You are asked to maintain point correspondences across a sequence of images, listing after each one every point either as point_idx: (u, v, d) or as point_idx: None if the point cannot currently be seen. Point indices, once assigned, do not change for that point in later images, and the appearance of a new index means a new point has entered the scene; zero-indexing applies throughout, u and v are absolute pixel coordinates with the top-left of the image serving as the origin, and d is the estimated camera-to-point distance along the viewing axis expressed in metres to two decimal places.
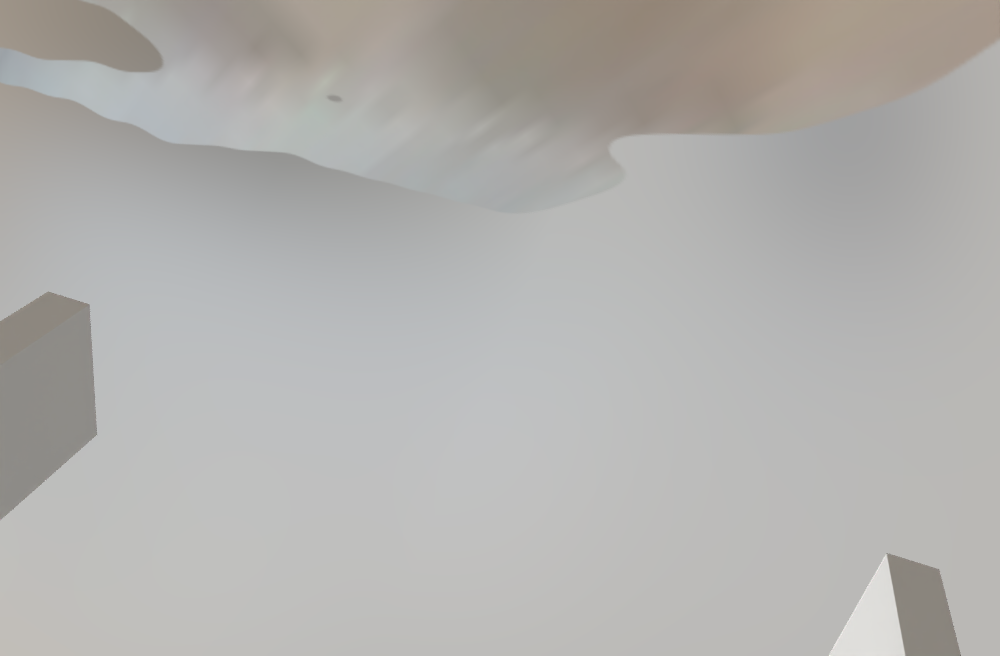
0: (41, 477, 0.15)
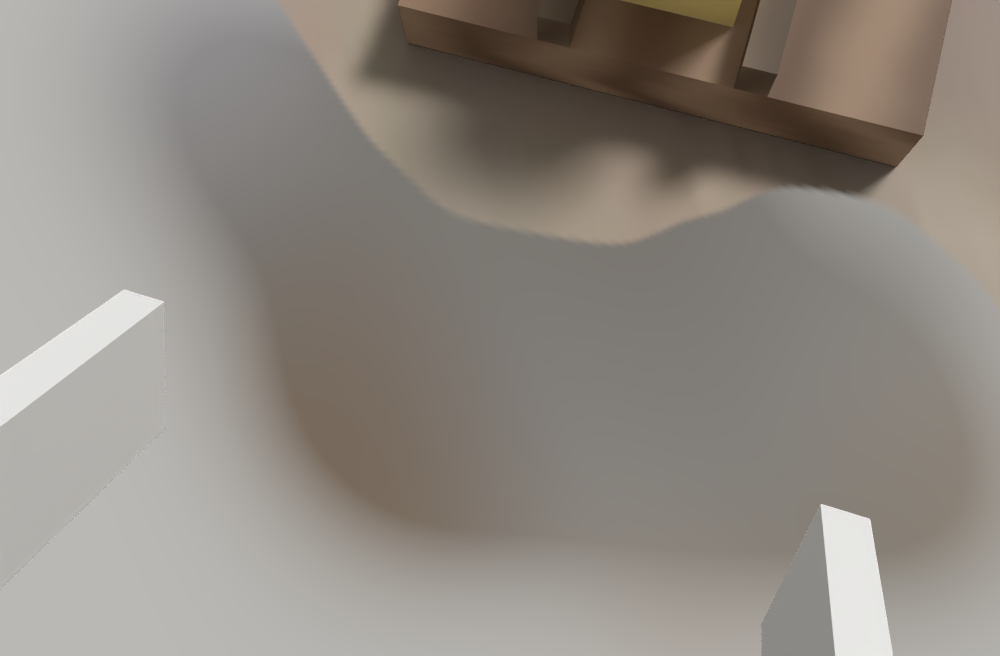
0: (117, 469, 0.15)
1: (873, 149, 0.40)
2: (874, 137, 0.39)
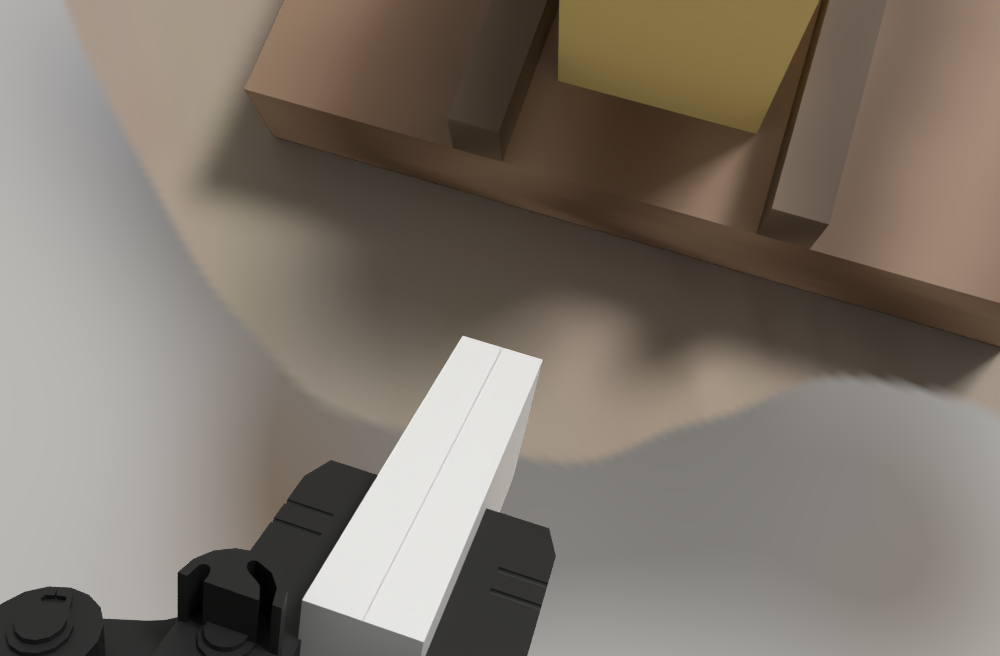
0: None
1: (972, 326, 0.26)
2: (977, 313, 0.25)
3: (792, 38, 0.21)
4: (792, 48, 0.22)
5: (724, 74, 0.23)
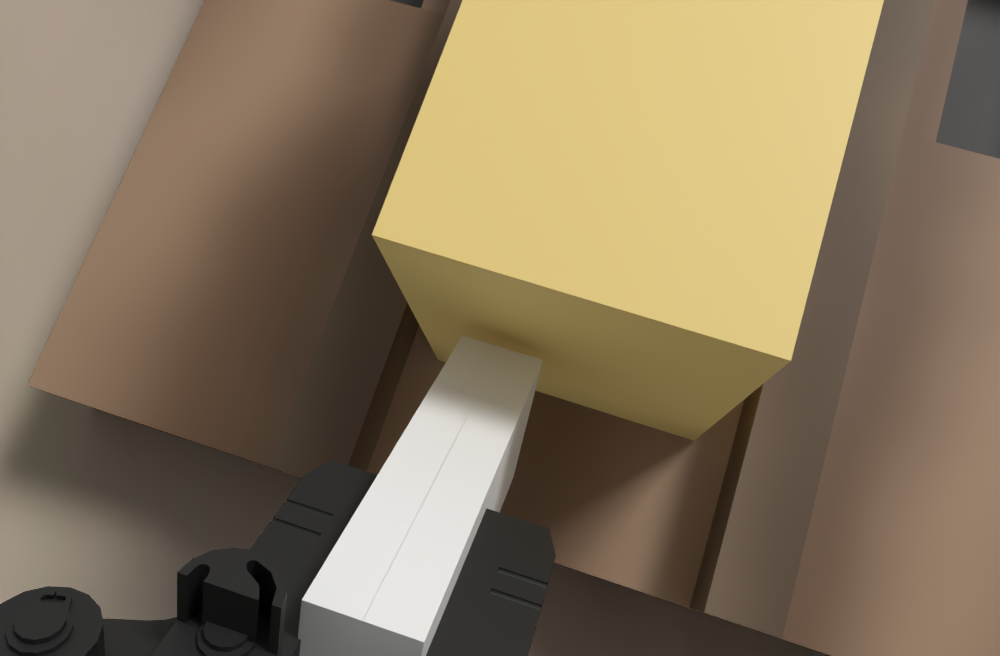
0: None
1: None
2: None
3: (727, 401, 0.15)
4: (728, 406, 0.15)
5: (642, 401, 0.17)
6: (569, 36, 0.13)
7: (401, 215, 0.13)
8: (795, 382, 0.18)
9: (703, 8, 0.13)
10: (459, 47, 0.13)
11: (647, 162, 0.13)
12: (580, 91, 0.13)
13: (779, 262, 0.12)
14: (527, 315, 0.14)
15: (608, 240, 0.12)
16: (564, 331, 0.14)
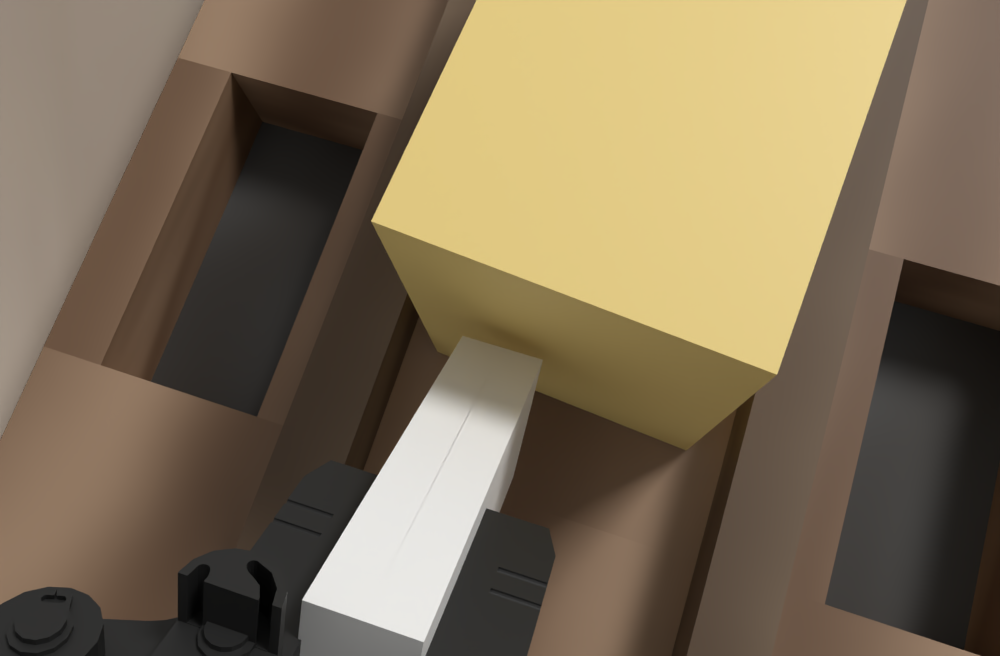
0: None
1: None
2: None
3: (717, 412, 0.15)
4: (718, 417, 0.15)
5: (635, 406, 0.17)
6: (582, 37, 0.13)
7: (401, 204, 0.13)
8: None
9: (717, 18, 0.13)
10: (472, 41, 0.13)
11: (650, 168, 0.13)
12: (588, 93, 0.13)
13: (773, 276, 0.12)
14: (522, 312, 0.14)
15: (605, 242, 0.12)
16: (558, 330, 0.14)
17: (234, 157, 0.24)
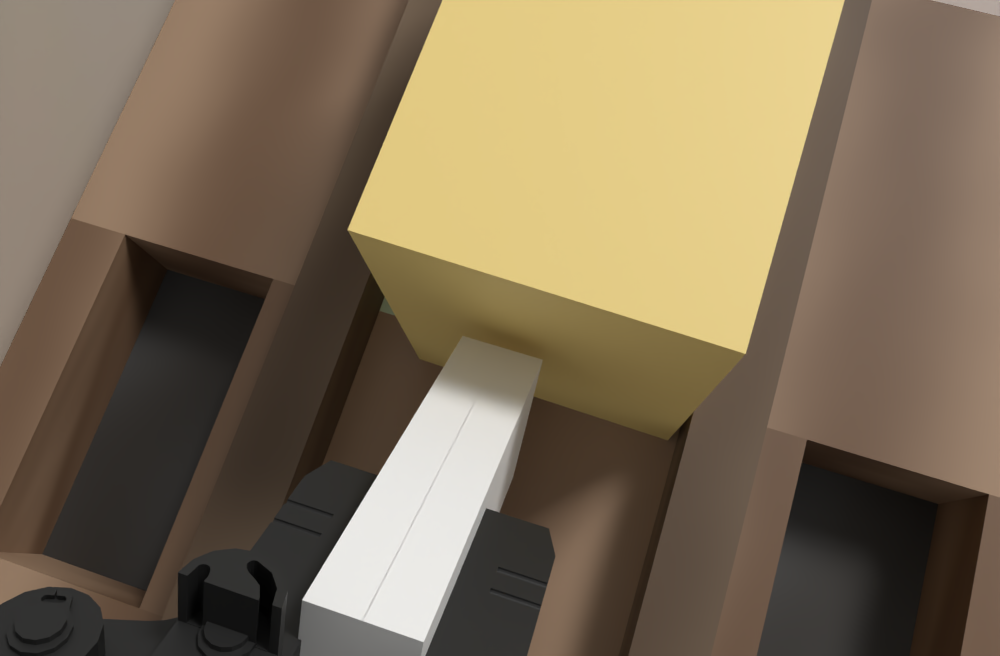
0: None
1: None
2: None
3: (693, 396, 0.16)
4: (695, 402, 0.16)
5: (615, 399, 0.18)
6: (541, 42, 0.14)
7: (376, 211, 0.13)
8: None
9: (669, 18, 0.14)
10: (435, 52, 0.14)
11: (612, 164, 0.13)
12: (549, 96, 0.14)
13: (736, 260, 0.13)
14: (498, 311, 0.15)
15: (573, 237, 0.13)
16: (534, 327, 0.15)
17: (134, 312, 0.24)
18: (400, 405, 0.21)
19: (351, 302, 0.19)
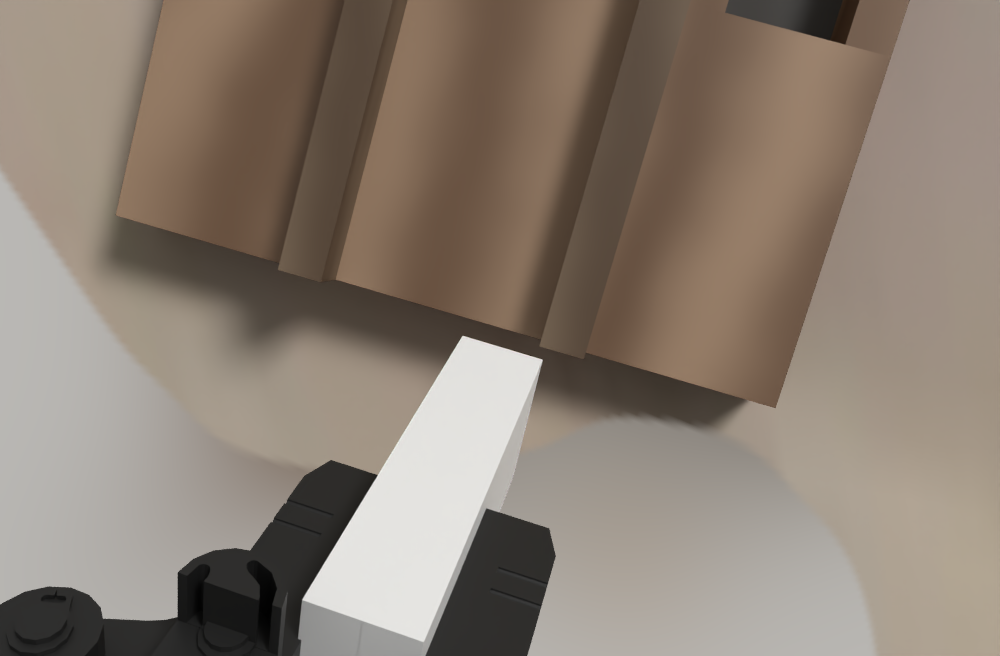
0: None
1: None
2: None
3: None
4: None
5: None
6: None
7: None
8: (599, 205, 0.28)
9: None
10: None
11: None
12: None
13: None
14: None
15: None
16: None
17: None
18: None
19: None
